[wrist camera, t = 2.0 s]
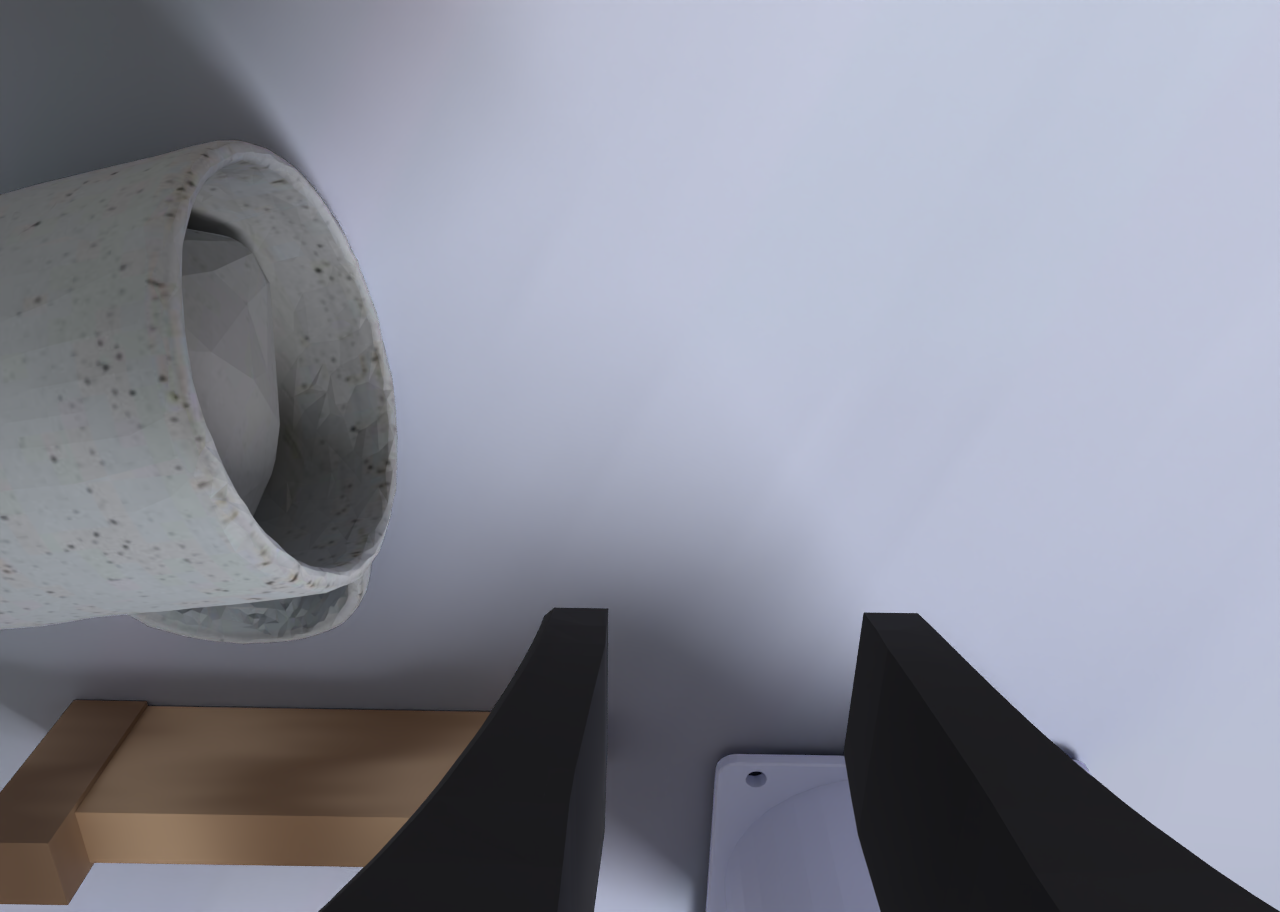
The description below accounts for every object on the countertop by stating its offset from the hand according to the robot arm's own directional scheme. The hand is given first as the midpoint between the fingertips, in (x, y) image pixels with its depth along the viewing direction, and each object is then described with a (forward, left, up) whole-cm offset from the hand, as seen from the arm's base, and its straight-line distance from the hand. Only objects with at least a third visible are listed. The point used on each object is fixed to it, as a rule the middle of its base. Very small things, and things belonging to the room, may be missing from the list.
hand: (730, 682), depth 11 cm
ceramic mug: (+10, +1, -11) cm, 15 cm away
